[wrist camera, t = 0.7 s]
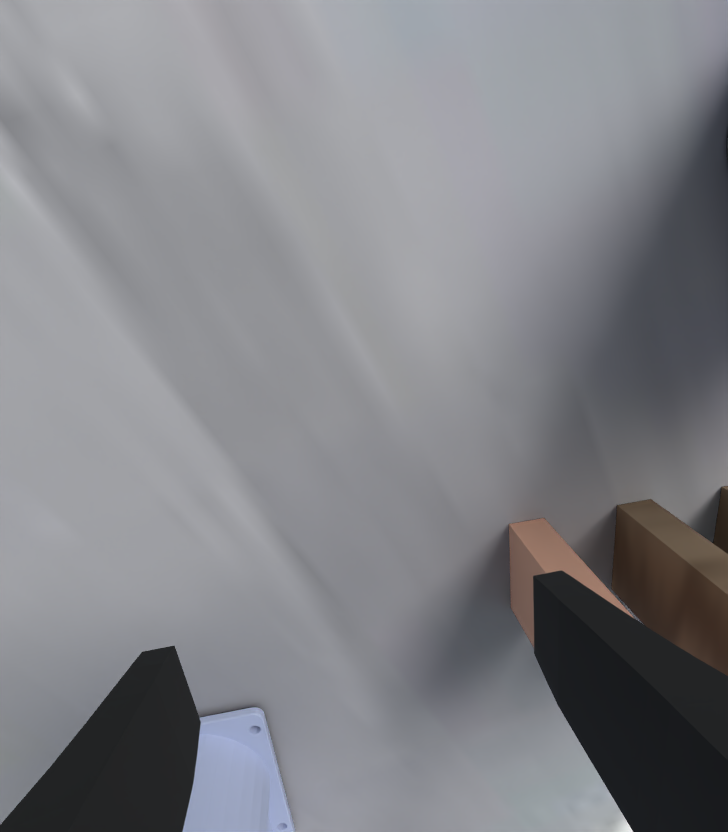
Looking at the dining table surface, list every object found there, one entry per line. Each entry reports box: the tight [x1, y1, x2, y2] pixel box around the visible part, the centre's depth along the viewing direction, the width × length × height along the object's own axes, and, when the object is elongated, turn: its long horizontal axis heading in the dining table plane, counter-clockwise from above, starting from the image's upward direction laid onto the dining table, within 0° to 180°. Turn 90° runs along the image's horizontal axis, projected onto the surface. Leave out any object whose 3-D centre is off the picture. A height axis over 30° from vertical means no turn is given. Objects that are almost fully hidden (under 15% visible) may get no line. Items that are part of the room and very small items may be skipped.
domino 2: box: [612, 499, 728, 676], centre depth 18 cm, size 5×2×8 cm, turn 8°
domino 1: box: [509, 518, 635, 647], centre depth 18 cm, size 5×2×8 cm, turn 8°
